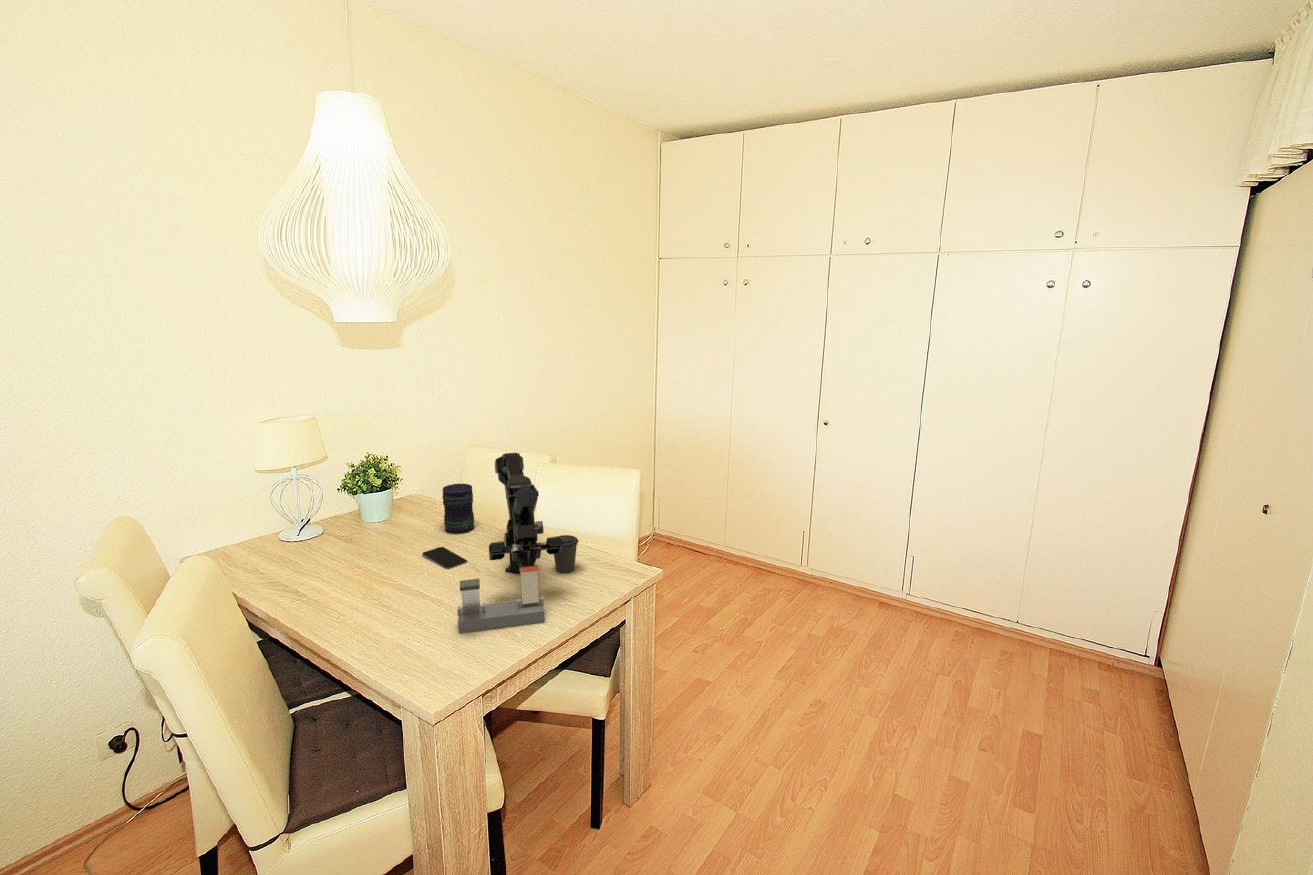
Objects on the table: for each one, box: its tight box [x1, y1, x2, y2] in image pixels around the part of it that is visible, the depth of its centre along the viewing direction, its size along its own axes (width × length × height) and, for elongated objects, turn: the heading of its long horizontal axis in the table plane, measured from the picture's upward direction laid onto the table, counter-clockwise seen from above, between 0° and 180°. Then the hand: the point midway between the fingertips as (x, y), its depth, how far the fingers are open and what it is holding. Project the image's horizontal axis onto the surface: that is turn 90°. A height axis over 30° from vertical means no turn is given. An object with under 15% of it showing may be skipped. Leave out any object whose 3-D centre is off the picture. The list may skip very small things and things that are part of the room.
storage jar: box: [442, 483, 475, 535], centre depth 200 cm, size 10×10×15 cm
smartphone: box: [421, 546, 468, 570], centre depth 178 cm, size 7×1×15 cm
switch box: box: [456, 595, 545, 634], centre depth 143 cm, size 7×20×5 cm, turn 107°
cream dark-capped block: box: [459, 578, 481, 614], centre depth 139 cm, size 2×4×9 cm, turn 107°
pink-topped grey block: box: [519, 564, 540, 604], centre depth 145 cm, size 2×4×9 cm, turn 107°
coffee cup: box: [553, 534, 579, 574], centre depth 171 cm, size 8×8×10 cm
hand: (528, 579), depth 149 cm, fingers closed
